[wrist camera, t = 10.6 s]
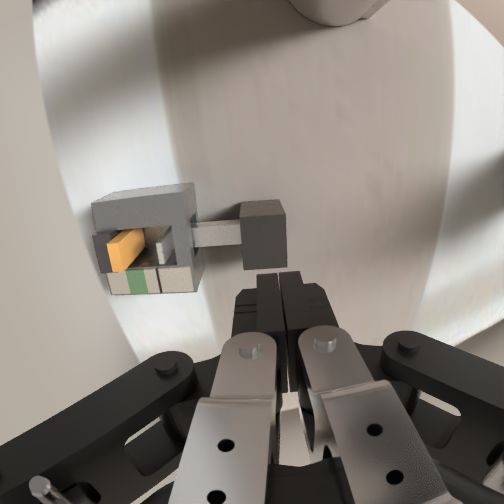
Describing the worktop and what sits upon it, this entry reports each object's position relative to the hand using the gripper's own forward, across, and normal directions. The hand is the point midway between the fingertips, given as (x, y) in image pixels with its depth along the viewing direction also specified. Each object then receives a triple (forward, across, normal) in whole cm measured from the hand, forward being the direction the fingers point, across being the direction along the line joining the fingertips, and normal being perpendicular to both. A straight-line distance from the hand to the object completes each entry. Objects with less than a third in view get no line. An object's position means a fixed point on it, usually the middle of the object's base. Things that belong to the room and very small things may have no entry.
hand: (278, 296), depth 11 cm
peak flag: (+22, +14, +4) cm, 27 cm away
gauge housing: (+23, +12, +4) cm, 27 cm away
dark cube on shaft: (+23, +4, +4) cm, 24 cm away
